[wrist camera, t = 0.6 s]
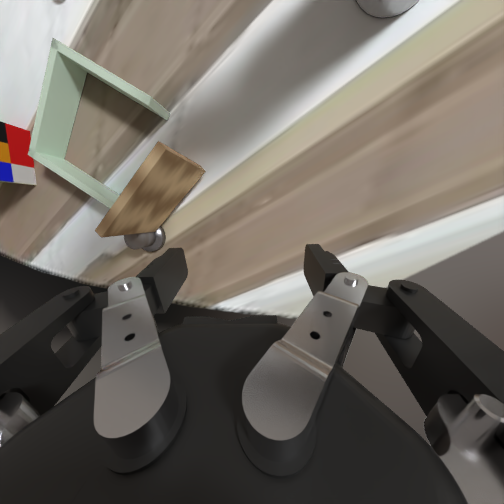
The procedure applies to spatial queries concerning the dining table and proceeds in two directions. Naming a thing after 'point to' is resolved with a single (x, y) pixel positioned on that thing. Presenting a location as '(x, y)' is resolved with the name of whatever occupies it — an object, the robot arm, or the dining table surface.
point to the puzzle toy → (15, 155)
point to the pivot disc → (157, 240)
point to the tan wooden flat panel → (150, 197)
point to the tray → (73, 115)
